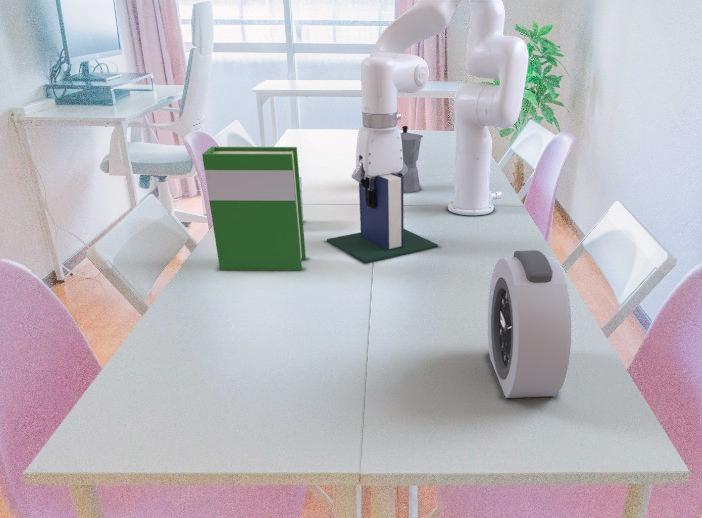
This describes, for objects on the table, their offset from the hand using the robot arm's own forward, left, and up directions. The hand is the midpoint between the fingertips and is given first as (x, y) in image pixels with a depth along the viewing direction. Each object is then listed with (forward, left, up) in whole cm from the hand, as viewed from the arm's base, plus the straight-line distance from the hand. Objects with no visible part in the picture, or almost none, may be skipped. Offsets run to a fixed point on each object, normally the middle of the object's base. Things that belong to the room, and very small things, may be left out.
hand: (381, 204), depth 153 cm
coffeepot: (-32, -39, -10) cm, 51 cm away
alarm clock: (+15, +65, -10) cm, 68 cm away
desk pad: (0, 0, -9) cm, 9 cm away
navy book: (0, 0, -9) cm, 9 cm away
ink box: (+12, -25, -10) cm, 29 cm away
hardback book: (+29, -3, -10) cm, 31 cm away
